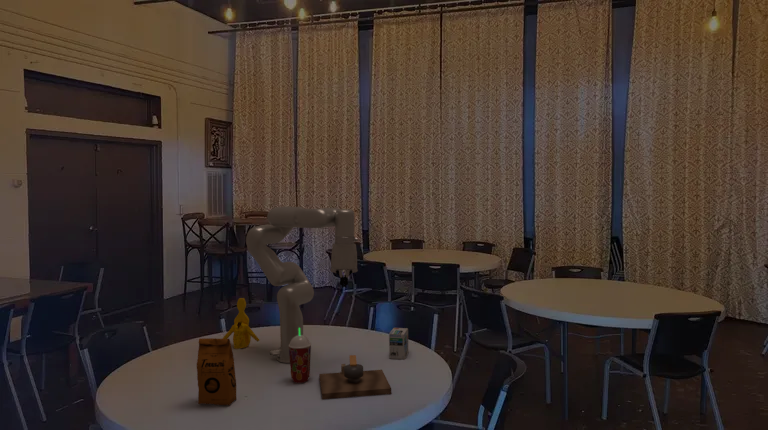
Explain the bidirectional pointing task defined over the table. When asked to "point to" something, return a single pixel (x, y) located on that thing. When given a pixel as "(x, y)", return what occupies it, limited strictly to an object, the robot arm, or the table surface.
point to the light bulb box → (398, 343)
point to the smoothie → (300, 358)
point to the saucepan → (353, 369)
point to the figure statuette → (241, 328)
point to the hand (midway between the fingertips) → (343, 286)
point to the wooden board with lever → (353, 384)
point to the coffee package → (216, 372)
